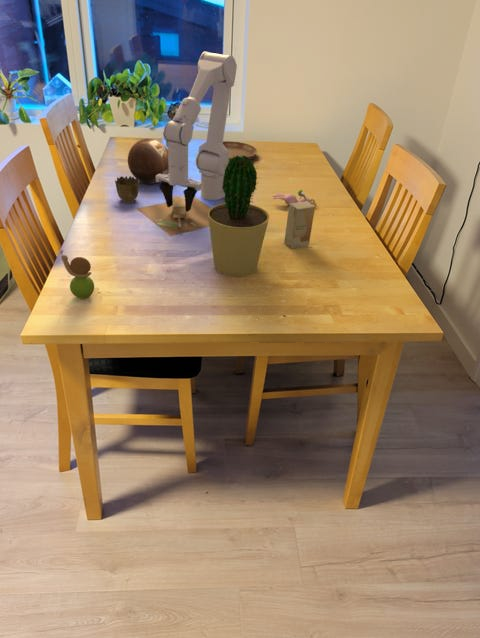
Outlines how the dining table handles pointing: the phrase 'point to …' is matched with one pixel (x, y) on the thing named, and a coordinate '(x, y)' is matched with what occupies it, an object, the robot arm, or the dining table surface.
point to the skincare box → (299, 224)
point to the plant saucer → (239, 149)
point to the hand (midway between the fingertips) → (178, 208)
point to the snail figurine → (79, 276)
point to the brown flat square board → (165, 220)
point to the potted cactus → (237, 221)
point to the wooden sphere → (148, 160)
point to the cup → (127, 188)
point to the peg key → (178, 208)
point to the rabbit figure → (293, 198)
